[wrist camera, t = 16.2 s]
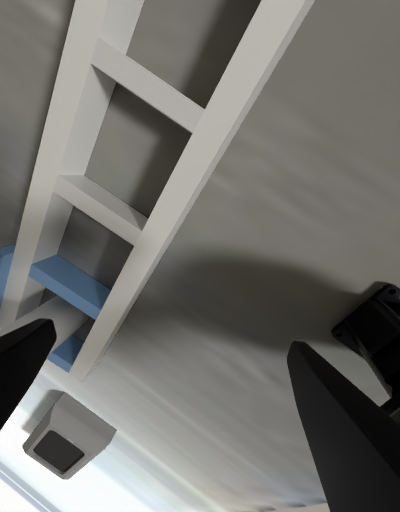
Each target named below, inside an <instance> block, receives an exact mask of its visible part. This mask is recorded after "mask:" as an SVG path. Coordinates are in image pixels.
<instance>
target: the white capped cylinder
mask: <svg viewBox="0 0 400 512" xmlns="http://www.w3.org/2000/svg"><path fill="white" fill-rule="evenodd" d="M39 318H47V319H52V320H53V322H54V326H55V330H56V334H57V339H56V342H55V344H54V346H53V347H52V349H51V351H50V353H51V352H53V351H54V350H55V349H56V348H57V347H58V346H59V345H60V344H62V343H63V342H64V341H65V340H66V339H67V338H68V337H69V336H71V335H72V334H73V333H74V332H75V331H76V330H77V329H79V328H80V327H81V326H82V325H83V324H84V323H85V322H86V321H87V320H88V319H89V315H87V314H86V313H84V312H83V311H81V310H79V309H78V308H76V307H75V306H73V305H72V304H70V303H69V302H67V301H66V300H64V299H63V298H61V297H60V296H58V295H57V296H55V297H54V298H52V299H50V300H49V301H47V302H45V303H44V304H42V305H40V306H39V307H37V308H36V309H34V310H32V311H31V312H29V313H27V314H26V315H24V316H23V317H21V318H19V319H18V320H16V321H14V322H13V323H11V324H9V325H8V326H6V327H5V328H3V329H1V330H0V336H2V335H5V334H7V333H9V332H11V331H13V330H15V329H17V328H20V327H22V326H24V325H26V324H28V323H30V322H32V321H34V320H37V319H39ZM50 353H49V354H50Z"/></svg>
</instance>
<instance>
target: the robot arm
mask: <svg viewBox="0 0 400 512" xmlns="http://www.w3.org/2000/svg"><path fill="white" fill-rule="evenodd" d="M391 289H393V291H392V292H389V290H391ZM338 332H340V334H337V333H338ZM332 335H333V337H334V338H335V339H337V340H338V341H340V342H341V343H343V344H344V345H346V346H347V347H349V348H350V349H352V350H353V351H355V352H356V353H358V354H359V355H361V356H362V357H364V358H365V360H366V361H367V363H368V364H369V366H370V367H371V369H372V370H373V372H374V373H375V375H376V376H377V378H378V380H379V381H380V383H381V384H382V386H383V387H384V389H385V390H386V392H387V393H388V395H389V396H390V399H389V400H388V401H387V402H385V403H384V404H383V405H381V406H380V407H379V406H378V405H377V404H375V403H374V402H373V401H372V400H371V399H370V398H368V397H367V396H366V395H365V394H364V393H363V392H362V391H360V390H359V389H358V388H357V387H356V386H355V385H354V384H352V383H351V382H350V381H349V380H348V379H347V378H346V377H344V376H343V375H342V374H341V373H340V372H339V371H338V370H336V369H335V368H334V367H333V366H332V365H331V364H330V363H328V362H327V361H326V360H325V359H324V358H323V357H322V356H320V355H319V354H318V353H317V352H316V351H315V350H314V349H312V348H311V347H310V346H309V345H308V344H307V343H305V342H301V341H293V342H292V344H291V347H290V350H289V353H288V356H287V364H288V369H289V374H290V378H291V383H292V387H293V392H294V397H295V401H296V405H297V409H298V412H299V416H300V419H301V422H302V425H303V428H304V431H305V434H306V437H307V441H308V444H309V447H310V450H311V453H312V456H313V459H314V462H315V465H316V469H317V472H318V475H319V478H320V481H321V484H322V487H323V490H324V493H325V497H326V500H327V503H328V506H329V509H330V512H400V288H398V287H397V286H395V285H393V284H388V285H385V286H384V287H383V288H382V289H380V290H379V291H378V292H377V293H375V294H374V295H373V296H372V297H371V298H369V299H368V300H367V301H366V302H364V303H363V304H362V305H361V306H360V307H358V308H357V309H356V310H355V311H354V312H352V313H351V314H350V315H349V316H348V317H346V318H345V319H344V320H343V321H342V322H341V323H339V324H338V325H337V326H336V327H335V328H333V329H332ZM56 339H57V334H56V330H55V326H54V322H53V320H52V319H47V318H39V319H37V320H34V321H32V322H30V323H28V324H26V325H24V326H22V327H20V328H17V329H15V330H13V331H11V332H9V333H7V334H5V335H2V336H0V430H1V429H2V427H3V426H4V424H5V423H6V421H7V420H8V418H9V417H10V415H11V414H12V413H13V411H14V410H15V408H16V407H17V405H18V404H19V402H20V401H21V399H22V398H23V396H24V395H25V393H26V392H27V390H28V389H29V387H30V386H31V384H32V383H33V381H34V379H35V378H36V376H37V374H38V373H39V371H40V369H41V367H42V365H43V364H44V362H45V360H46V358H47V356H48V355H49V353H50V351H51V349H52V347H53V346H54V344H55V342H56Z"/></svg>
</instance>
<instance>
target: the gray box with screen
mask: <svg viewBox="0 0 400 512" xmlns="http://www.w3.org/2000/svg"><path fill="white" fill-rule="evenodd" d="M116 431H117V430H116V429H115V428H114V427H112V426H111V425H110V424H108V423H107V422H105V421H104V420H103V419H101V418H100V417H99V416H97V415H96V414H95V413H93V412H92V411H91V410H89V409H88V408H86V407H85V406H84V405H82V404H81V403H80V402H78V401H77V400H76V399H74V398H73V397H71V396H70V395H69V394H67V393H66V392H65V393H64V394H63V395H62V396H61V397H60V399H59V400H58V401H57V402H56V403H55V404H54V406H53V407H52V408H51V409H50V411H49V412H48V413H47V415H46V416H45V417H44V418H43V420H42V421H41V422H40V424H39V425H38V426H37V427H36V429H35V430H34V431H33V433H32V434H31V435H30V436H29V438H28V439H27V440H26V442H25V443H24V444H23V446H22V447H23V449H24V451H25V453H26V454H28V455H29V456H30V457H32V458H33V459H35V460H36V461H37V462H39V463H40V464H42V465H43V466H45V467H46V468H47V469H49V470H50V471H52V472H53V473H54V474H56V475H57V476H59V477H60V478H62V479H69V478H70V477H72V476H73V475H74V474H75V473H76V472H78V471H79V470H80V469H81V468H82V467H84V466H85V465H86V464H87V463H88V462H90V461H91V460H92V459H93V458H94V457H96V456H97V455H98V454H99V453H100V452H102V451H103V450H104V449H105V448H106V447H107V446H108V445H109V443H110V442H111V440H112V438H113V436H114V434H115V432H116Z"/></svg>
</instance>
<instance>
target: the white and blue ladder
mask: <svg viewBox="0 0 400 512" xmlns="http://www.w3.org/2000/svg"><path fill="white" fill-rule="evenodd" d="M144 1H145V0H75V4H74V8H73V12H72V17H71V21H70V25H69V29H68V33H67V37H66V41H65V45H64V49H63V53H62V58H61V62H60V66H59V70H58V74H57V78H56V82H55V86H54V90H53V94H52V99H51V103H50V107H49V111H48V115H47V119H46V123H45V127H44V131H43V135H42V139H41V144H40V148H39V152H38V156H37V160H36V164H35V168H34V172H33V176H32V180H31V185H30V189H29V193H28V197H27V201H26V205H25V209H24V213H23V217H22V221H21V226H20V230H19V234H18V238H17V242H16V244H13V245H10V246H6V247H3V248H0V328H1V329H3V328H5V327H6V326H8V325H9V324H11V323H13V322H14V321H16V320H18V319H19V318H21V317H23V316H24V315H26V314H27V313H29V312H31V311H32V310H34V309H36V308H37V307H39V304H40V301H41V299H42V296H43V293H44V290H45V287H46V288H48V289H49V290H51V291H52V292H54V293H55V294H57V295H58V296H60V297H61V298H63V299H64V300H66V301H67V302H69V303H70V304H72V305H73V306H75V307H76V308H78V309H79V310H81V311H83V312H84V313H86V314H87V315H89V316H90V317H92V318H93V319H95V320H96V321H95V323H94V325H93V327H92V329H91V331H90V333H89V335H88V337H87V338H86V340H85V342H82V341H81V340H79V339H78V338H76V337H75V336H73V335H71V336H69V337H68V338H67V339H66V340H65V341H64V342H63V343H62V344H60V345H59V346H58V347H57V348H56V349H55V350H54V351H53V352H51V353H50V354H49V355H48V356H47V359H48V360H50V361H51V362H53V363H54V364H56V365H57V366H59V367H60V368H62V369H63V370H65V371H66V372H68V373H70V374H71V375H73V376H74V377H76V378H77V379H79V380H80V381H82V382H84V381H85V379H86V378H87V377H88V376H89V374H90V373H91V372H92V371H93V369H94V368H95V367H96V366H97V364H98V363H99V362H100V360H101V358H102V357H103V355H104V353H105V352H106V350H107V348H108V347H109V345H110V343H111V342H112V340H113V338H114V337H115V335H116V333H117V332H118V330H119V328H120V327H121V325H122V323H123V322H124V320H125V318H126V317H127V315H128V313H129V312H130V310H131V308H132V307H133V305H134V303H135V302H136V300H137V298H138V296H139V295H140V293H141V291H142V290H143V288H144V286H145V285H146V283H147V281H148V280H149V278H150V276H151V275H152V273H153V271H154V270H155V268H156V266H157V265H158V263H159V261H160V260H161V258H162V256H163V255H164V253H165V251H166V250H167V248H168V246H169V245H170V243H171V241H172V239H173V238H174V236H175V234H176V233H177V231H178V229H179V228H180V226H181V224H182V223H183V221H184V219H185V218H186V216H187V214H188V213H189V211H190V209H191V208H192V206H193V204H194V203H195V201H196V199H197V198H198V196H199V194H200V193H201V191H202V189H203V188H204V186H205V184H206V182H207V181H208V179H209V177H210V176H211V174H212V172H213V171H214V169H215V167H216V166H217V164H218V162H219V161H220V159H221V157H222V156H223V154H224V152H225V151H226V149H227V147H228V146H229V144H230V142H231V141H232V139H233V137H234V136H235V134H236V132H237V131H238V129H239V127H240V126H241V124H242V122H243V120H244V119H245V117H246V115H247V114H248V112H249V110H250V109H251V107H252V105H253V104H254V102H255V100H256V99H257V97H258V95H259V94H260V92H261V90H262V89H263V87H264V85H265V84H266V82H267V80H268V79H269V77H270V75H271V74H272V72H273V70H274V69H275V67H276V65H277V63H278V62H279V60H280V58H281V57H282V55H283V53H284V52H285V50H286V48H287V47H288V45H289V43H290V42H291V40H292V38H293V37H294V35H295V33H296V32H297V30H298V28H299V27H300V25H301V23H302V22H303V20H304V18H305V17H306V15H307V13H308V12H309V10H310V8H311V7H312V5H313V3H314V1H315V0H262V1H261V2H260V4H259V6H258V8H257V10H256V12H255V14H254V16H253V18H252V20H251V22H250V24H249V26H248V28H247V29H246V31H245V33H244V35H243V37H242V39H241V41H240V43H239V45H238V47H237V49H236V51H235V53H234V55H233V57H232V58H231V60H230V62H229V64H228V66H227V68H226V70H225V72H224V74H223V76H222V78H221V80H220V82H219V84H218V85H217V87H216V89H215V91H214V93H213V95H212V97H211V99H210V101H209V103H208V105H207V107H206V109H203V108H202V107H200V106H199V105H197V104H196V103H194V102H193V101H192V100H190V99H189V98H187V97H186V96H184V95H183V94H181V93H180V92H178V91H177V90H176V89H174V88H173V87H171V86H170V85H168V84H167V83H165V82H164V81H163V80H161V79H160V78H158V77H157V76H155V75H154V74H152V73H151V72H149V71H148V70H147V69H145V68H144V67H142V66H141V65H139V64H138V63H136V62H135V61H133V60H132V59H131V58H129V57H128V56H126V53H127V50H128V47H129V44H130V41H131V38H132V35H133V32H134V30H135V27H136V24H137V21H138V18H139V15H140V12H141V9H142V6H143V4H144ZM116 82H117V83H118V84H120V85H121V86H123V87H124V88H126V89H127V90H129V91H130V92H132V93H133V94H134V95H136V96H137V97H139V98H140V99H142V100H143V101H145V102H146V103H148V104H149V105H150V106H152V107H153V108H155V109H156V110H158V111H159V112H161V113H162V114H164V115H165V116H167V117H168V118H169V119H171V120H172V121H174V122H175V123H177V124H178V125H180V126H181V127H183V128H184V129H186V130H187V131H188V132H190V133H191V134H192V136H191V138H190V140H189V141H188V143H187V145H186V147H185V149H184V151H183V153H182V155H181V157H180V159H179V161H178V163H177V165H176V167H175V169H174V170H173V172H172V174H171V176H170V178H169V180H168V182H167V184H166V186H165V188H164V190H163V192H162V194H161V196H160V197H159V199H158V201H157V203H156V205H155V207H154V209H153V211H152V213H151V215H150V217H149V219H148V218H147V217H145V216H144V215H142V214H141V213H139V212H138V211H136V210H135V209H133V208H132V207H130V206H129V205H127V204H126V203H124V202H123V201H121V200H120V199H118V198H117V197H115V196H114V195H113V194H111V193H110V192H108V191H107V190H105V189H104V188H102V187H101V186H99V185H98V184H96V183H95V182H93V181H92V180H90V179H89V178H87V177H86V176H84V174H85V171H86V168H87V165H88V163H89V160H90V157H91V154H92V151H93V148H94V145H95V142H96V139H97V137H98V134H99V131H100V128H101V125H102V122H103V119H104V116H105V113H106V111H107V108H108V105H109V102H110V99H111V96H112V93H113V90H114V87H115V85H116ZM73 206H75V207H77V208H78V209H80V210H81V211H83V212H84V213H86V214H87V215H89V216H90V217H92V218H93V219H95V220H96V221H98V222H99V223H101V224H102V225H104V226H105V227H107V228H108V229H110V230H111V231H113V232H114V233H116V234H117V235H119V236H120V237H122V238H123V239H125V240H126V241H128V242H129V243H131V244H132V245H134V248H133V250H132V252H131V253H130V255H129V257H128V259H127V261H126V263H125V265H124V267H123V269H122V271H121V273H120V275H119V277H118V279H117V281H116V282H115V284H114V286H113V288H112V290H110V289H108V288H107V287H105V286H104V285H102V284H101V283H99V282H98V281H96V280H95V279H93V278H92V277H90V276H89V275H87V274H86V273H84V272H83V271H81V270H80V269H78V268H77V267H75V266H74V265H72V264H71V263H69V262H68V261H66V260H65V259H63V258H62V257H60V256H59V255H57V252H58V249H59V246H60V244H61V241H62V238H63V235H64V232H65V229H66V226H67V223H68V220H69V218H70V215H71V212H72V209H73Z"/></svg>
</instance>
